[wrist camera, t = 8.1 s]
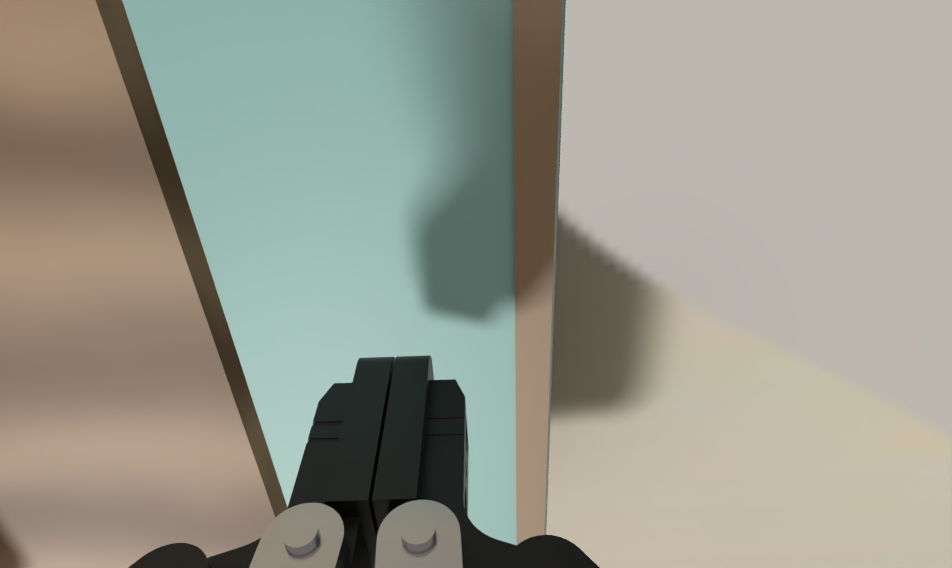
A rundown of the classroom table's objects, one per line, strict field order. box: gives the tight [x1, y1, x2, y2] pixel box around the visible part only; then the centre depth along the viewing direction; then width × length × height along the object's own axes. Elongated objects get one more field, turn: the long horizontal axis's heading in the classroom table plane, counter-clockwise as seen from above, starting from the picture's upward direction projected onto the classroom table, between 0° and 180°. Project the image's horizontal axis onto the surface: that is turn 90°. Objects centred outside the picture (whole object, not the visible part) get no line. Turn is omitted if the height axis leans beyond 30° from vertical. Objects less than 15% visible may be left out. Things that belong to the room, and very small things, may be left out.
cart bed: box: [0, 0, 287, 568], centre depth 18 cm, size 22×12×6 cm, turn 2°
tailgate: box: [122, 0, 566, 545], centre depth 16 cm, size 21×1×8 cm
